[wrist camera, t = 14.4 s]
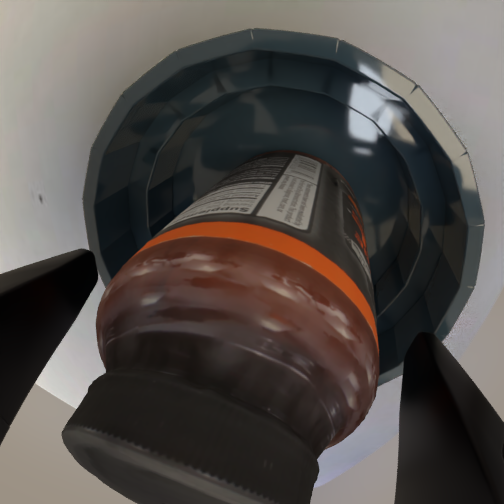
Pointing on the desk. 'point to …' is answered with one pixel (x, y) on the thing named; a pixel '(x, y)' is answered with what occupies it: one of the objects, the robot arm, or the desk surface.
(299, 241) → the supplement bottle
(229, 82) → the bowl
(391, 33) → the desk surface
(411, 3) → the desk surface
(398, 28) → the desk surface
